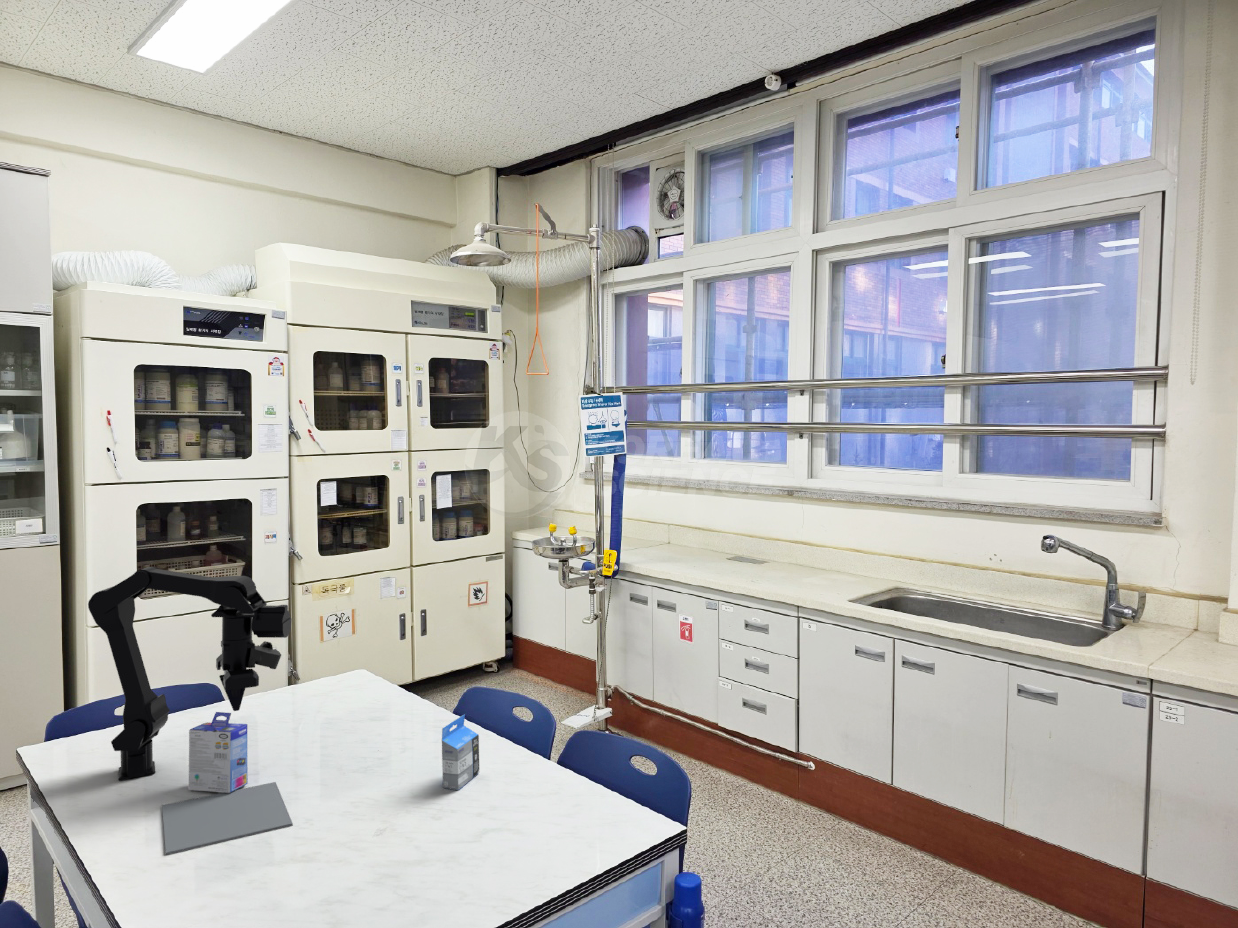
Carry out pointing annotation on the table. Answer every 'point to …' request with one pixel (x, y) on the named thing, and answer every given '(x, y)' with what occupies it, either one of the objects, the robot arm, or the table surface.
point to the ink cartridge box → (218, 756)
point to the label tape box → (459, 754)
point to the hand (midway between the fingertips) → (236, 710)
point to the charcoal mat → (223, 817)
